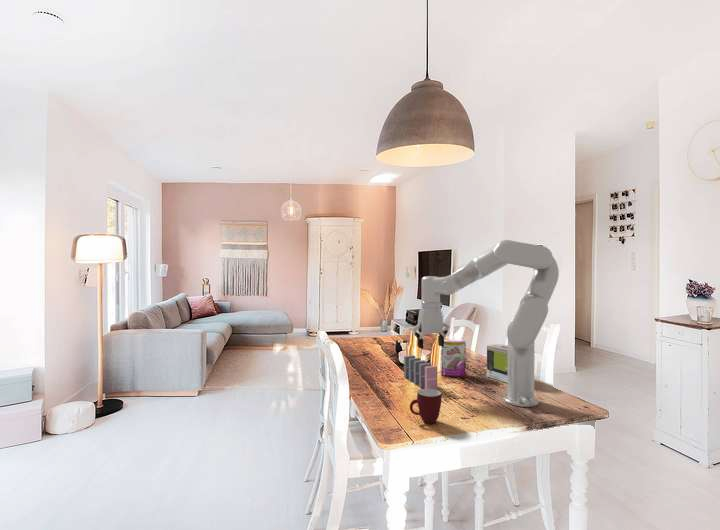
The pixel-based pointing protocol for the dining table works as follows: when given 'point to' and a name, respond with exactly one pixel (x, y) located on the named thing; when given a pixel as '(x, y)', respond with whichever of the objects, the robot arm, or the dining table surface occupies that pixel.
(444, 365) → the candy bar box
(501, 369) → the grey toy television
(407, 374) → the domino
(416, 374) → the domino
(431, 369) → the plum domino
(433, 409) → the mug
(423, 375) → the domino
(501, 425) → the dining table surface
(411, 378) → the domino
